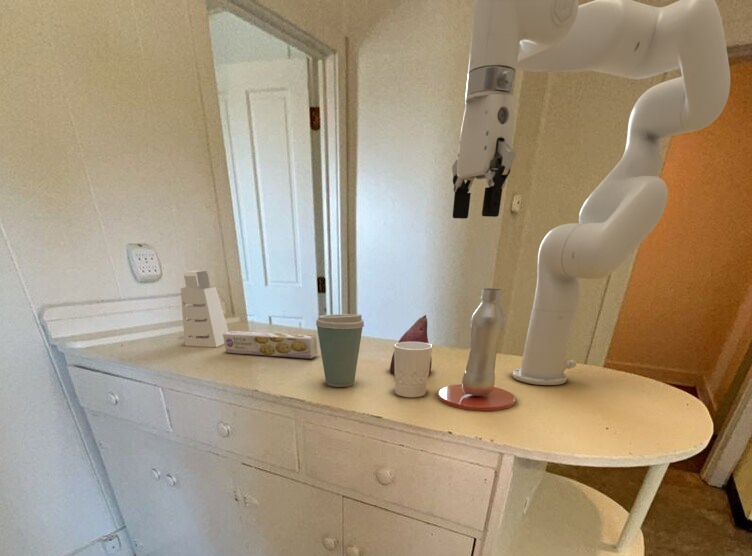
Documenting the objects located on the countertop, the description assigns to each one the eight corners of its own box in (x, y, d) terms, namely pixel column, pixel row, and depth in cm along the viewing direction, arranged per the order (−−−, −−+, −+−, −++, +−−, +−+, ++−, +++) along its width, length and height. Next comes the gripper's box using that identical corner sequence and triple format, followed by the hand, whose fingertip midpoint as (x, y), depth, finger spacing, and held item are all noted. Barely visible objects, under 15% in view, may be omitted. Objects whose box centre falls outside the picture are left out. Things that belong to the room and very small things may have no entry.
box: (225, 353, 124) (221, 332, 121) (235, 349, 128) (232, 329, 125) (311, 360, 118) (310, 338, 115) (318, 356, 122) (317, 335, 119)
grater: (184, 345, 132) (169, 271, 121) (201, 339, 141) (188, 269, 130) (216, 347, 131) (203, 272, 120) (231, 340, 140) (220, 270, 129)
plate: (481, 384, 100) (482, 380, 100) (531, 404, 88) (532, 400, 88) (424, 392, 94) (424, 389, 94) (468, 415, 82) (469, 411, 82)
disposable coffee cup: (308, 383, 99) (304, 313, 91) (341, 374, 106) (340, 308, 98) (340, 393, 93) (338, 318, 85) (373, 383, 100) (374, 313, 92)
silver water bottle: (457, 390, 93) (469, 287, 82) (487, 389, 94) (503, 287, 83) (465, 399, 88) (480, 291, 77) (497, 399, 88) (516, 291, 77)
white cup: (431, 390, 96) (435, 343, 90) (423, 400, 89) (427, 350, 84) (397, 386, 98) (400, 340, 92) (388, 396, 92) (389, 347, 86)
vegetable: (426, 380, 114) (446, 321, 107) (427, 386, 104) (449, 322, 98) (389, 368, 113) (406, 308, 107) (386, 373, 104) (405, 308, 97)
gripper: (544, 77, 64) (521, 216, 73) (478, 105, 77) (466, 219, 86) (503, 70, 61) (484, 215, 71) (442, 100, 75) (433, 218, 84)
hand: (474, 217), depth 78 cm, fingers open, 9 cm apart
